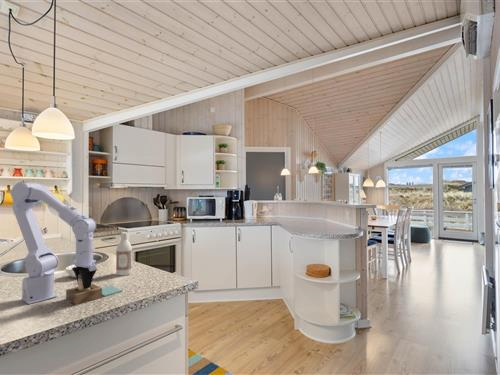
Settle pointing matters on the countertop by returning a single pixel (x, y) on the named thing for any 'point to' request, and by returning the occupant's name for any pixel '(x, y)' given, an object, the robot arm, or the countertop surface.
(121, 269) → the bath foam
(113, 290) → the teal mat
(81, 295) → the walnut block
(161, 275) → the countertop surface
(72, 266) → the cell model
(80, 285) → the maple plug
